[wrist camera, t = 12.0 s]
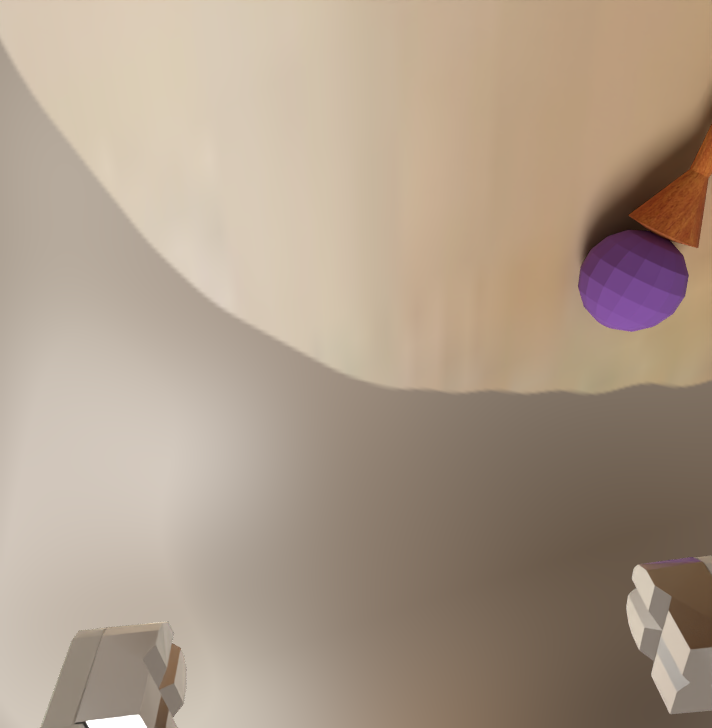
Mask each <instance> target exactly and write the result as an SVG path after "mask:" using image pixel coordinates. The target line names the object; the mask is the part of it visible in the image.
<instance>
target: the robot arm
mask: <svg viewBox="0 0 712 728" xmlns="http://www.w3.org/2000/svg"><path fill="white" fill-rule="evenodd" d="M632 580H633V582H634V584H635V586H636V588H635V589H634V590H633V591H632V592H631V593H630V594H629V595H628V600H627V606H626V608H627V616H628V623H629V626H630V629H631V632H632V635H633V638H634V640H635V642H636V644H637V646H638V648H639V650H640V651H641V652H642V653H644V654H645V655H646V656H648V657H649V658H650V659H652V660H653V661H654V665H653V669H652V674H651V676H652V678H653V680H654V682H655V684H656V686H657V688H658V690H659V692H660V694H661V696H662V698H663V700H664V703H665V705H666V707H667V709H668V711H669V713H670V714H677V713H688V712H699V711H710V710H712V556H705V557H699V558H693V557H690V558H682V559H675V560H668V561H660V562H653V563H645V564H638V565H637V566H636V567H635V568H634V570H633V575H632ZM173 635H174V632H173V630H172V628H171V626H170V624H169V622H157V623H147V624H137V625H128V626H119V627H106V628H97V629H90V630H81V631H78V633H77V634H76V636H75V637H74V638H73V640H72V641H71V644H70V647H69V650H68V652H67V655H66V658H65V661H64V664H63V666H62V669H61V672H60V675H59V677H58V680H57V683H56V686H55V688H54V691H53V694H52V697H51V700H50V702H49V705H48V708H47V711H46V714H45V716H44V719H43V722H42V725H41V727H40V728H177V726H176V723H175V721H174V719H173V717H174V715H175V714H176V713H177V712H178V710H179V709H180V707H182V705H183V704H184V698H185V692H186V664H185V658H184V655H183V652H182V650H181V648H180V647H178V646H176V645H174V644H173V643H172V640H173Z"/></svg>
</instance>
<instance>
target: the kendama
mask: <svg viewBox="0 0 712 728" xmlns="http://www.w3.org/2000/svg"><path fill="white" fill-rule="evenodd" d="M711 174H712V124H711V126H710V128H709V130H708V132H707V135H706V137H705V139H704V141H703V143H702V145H701V147H700V149H699V151H698V153H697V155H696V157H695V159H694V161H693V163H692V165H691V167H690V169H689V170H688V171H687V172H685V173H684V174H683V175H681V176H680V177H679V178H677V179H676V180H675V181H673V182H672V183H671V184H669V185H668V186H667V187H665V188H664V189H663V190H661V191H660V192H659V193H657V194H656V195H655V196H653V197H652V198H651V199H649V200H648V201H647V202H645V203H644V204H642V205H641V206H640V207H638V208H637V209H636V210H634V211H633V212H632V213H630V214H629V216H630V217H631V218H633V219H634V220H636V221H637V222H638V223H640V224H641V225H643V226H644V227H645V228H647V229H648V230H650V231H642V230H626V231H623V232H620V233H616V234H613V235H610V236H607V237H606V238H605V239H603V240H602V241H601V242H600V243H598V244H597V245H596V246H595V247H593V248H592V249H591V250H590V252H589V253H588V255H587V257H586V259H585V260H584V262H583V264H582V265H581V269H580V276H579V284H578V287H579V291H580V295H581V298H582V302H583V305H584V307H585V308H586V309H587V310H588V312H589V313H590V314H591V315H592V316H593V317H594V318H595V319H596V320H597V321H598V322H599V323H601V324H602V325H604V326H606V327H609V328H612V329H618V330H625V331H631V332H632V331H636V330H641V329H645V328H649V327H653V326H656V325H657V324H658V323H660V322H661V321H663V320H664V319H666V318H667V317H669V316H670V315H672V314H673V313H674V312H675V310H676V309H677V307H678V306H679V304H680V303H681V301H682V300H683V298H684V297H685V293H686V288H687V282H688V277H689V275H688V271H687V268H686V264H685V260H684V257H683V255H682V254H681V253H680V252H679V250H678V249H677V248H676V247H675V246H674V245H673V243H672V242H671V241H674V242H678V243H681V244H685V245H689V246H692V247H696V248H698V246H699V239H700V232H701V225H702V218H703V212H704V205H705V198H706V191H707V184H708V178H709V176H710V175H711ZM670 240H671V241H670Z"/></svg>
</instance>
